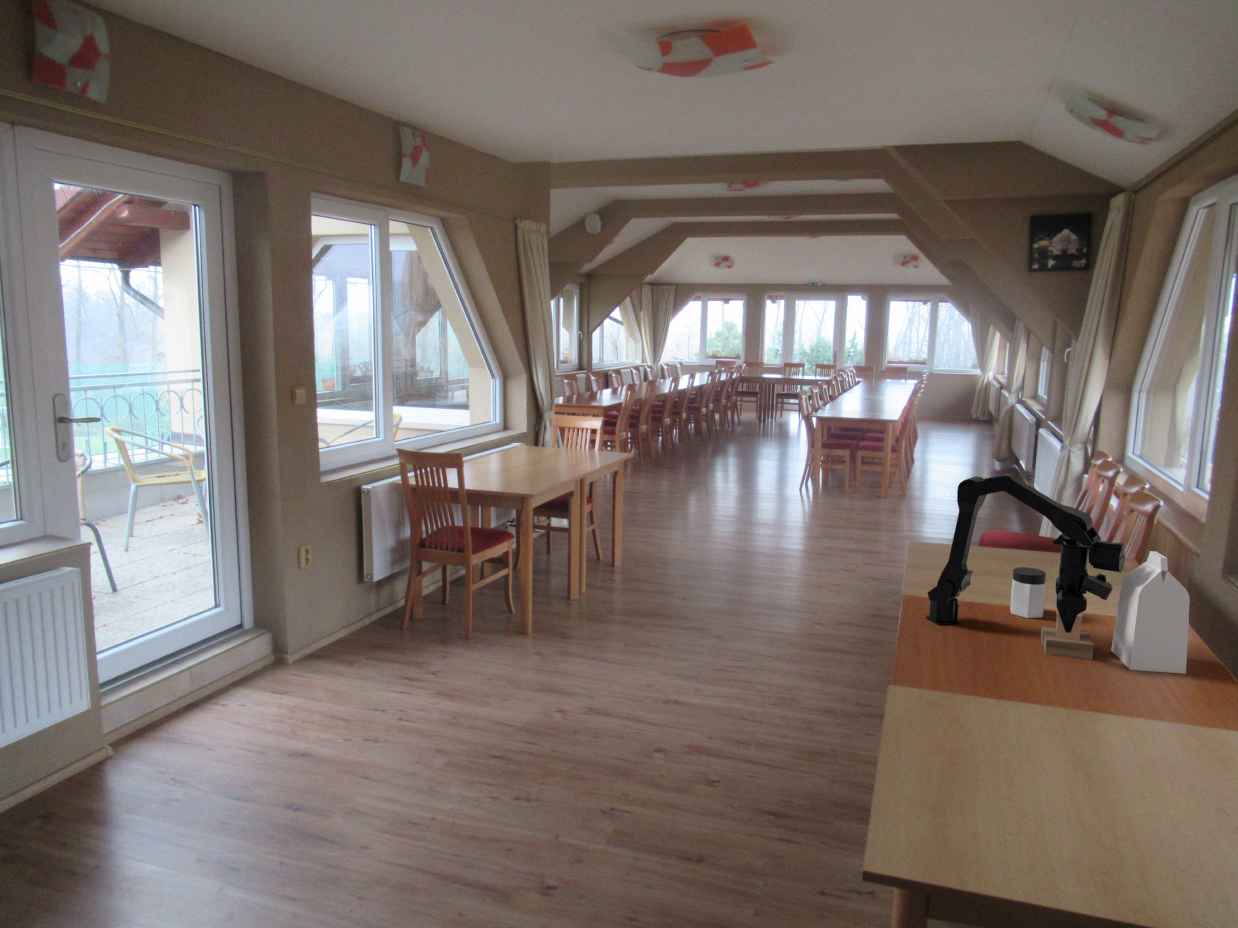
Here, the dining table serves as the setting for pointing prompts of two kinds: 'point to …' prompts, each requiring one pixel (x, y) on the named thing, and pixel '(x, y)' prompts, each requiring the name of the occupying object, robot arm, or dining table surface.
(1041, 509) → the robot arm
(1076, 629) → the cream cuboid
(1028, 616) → the jar
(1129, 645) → the milk
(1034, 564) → the dining table surface
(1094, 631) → the dining table surface
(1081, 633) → the beige block
